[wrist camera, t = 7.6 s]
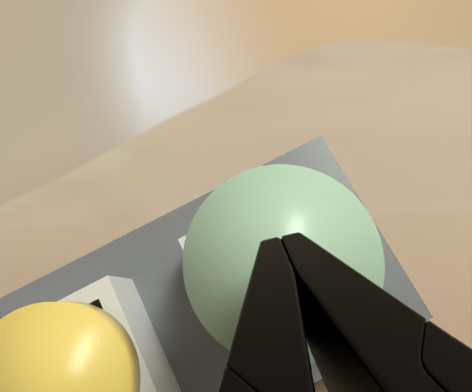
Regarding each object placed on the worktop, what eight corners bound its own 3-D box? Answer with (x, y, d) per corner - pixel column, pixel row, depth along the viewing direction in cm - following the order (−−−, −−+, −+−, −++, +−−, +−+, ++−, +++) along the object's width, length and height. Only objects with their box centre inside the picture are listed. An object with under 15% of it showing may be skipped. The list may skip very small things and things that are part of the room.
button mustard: (182, 397, 16) (155, 435, 12) (61, 463, 16) (-12, 527, 11) (130, 278, 17) (89, 272, 13) (17, 337, 17) (-65, 351, 13)
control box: (399, 313, 20) (470, 321, 14) (-90, 583, 19) (-289, 747, 12) (309, 163, 23) (333, 105, 16) (-138, 392, 21) (-329, 438, 14)
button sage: (374, 302, 14) (425, 305, 10) (244, 374, 14) (239, 408, 10) (301, 178, 16) (319, 132, 11) (180, 240, 15) (150, 218, 11)
